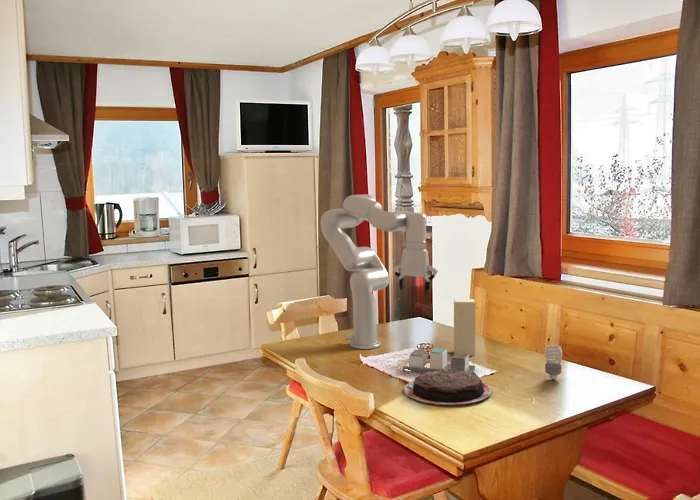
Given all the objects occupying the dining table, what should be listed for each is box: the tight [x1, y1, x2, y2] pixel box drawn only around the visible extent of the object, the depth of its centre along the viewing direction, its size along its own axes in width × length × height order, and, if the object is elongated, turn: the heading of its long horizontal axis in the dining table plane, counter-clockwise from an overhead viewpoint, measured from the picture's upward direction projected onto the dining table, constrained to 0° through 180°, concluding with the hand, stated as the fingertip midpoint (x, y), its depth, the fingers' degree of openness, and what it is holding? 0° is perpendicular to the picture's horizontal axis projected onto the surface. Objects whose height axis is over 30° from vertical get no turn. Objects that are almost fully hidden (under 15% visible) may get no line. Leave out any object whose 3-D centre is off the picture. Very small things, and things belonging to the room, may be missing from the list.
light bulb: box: [544, 344, 563, 381], centre depth 223 cm, size 6×6×12 cm
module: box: [429, 347, 448, 369], centre depth 237 cm, size 4×6×6 cm
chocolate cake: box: [403, 369, 493, 408], centre depth 213 cm, size 28×28×7 cm
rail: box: [402, 349, 476, 374], centre depth 237 cm, size 24×9×6 cm, turn 69°
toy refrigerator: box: [453, 298, 476, 357], centre depth 257 cm, size 8×7×21 cm
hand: (414, 290), depth 251 cm, fingers open, 9 cm apart
